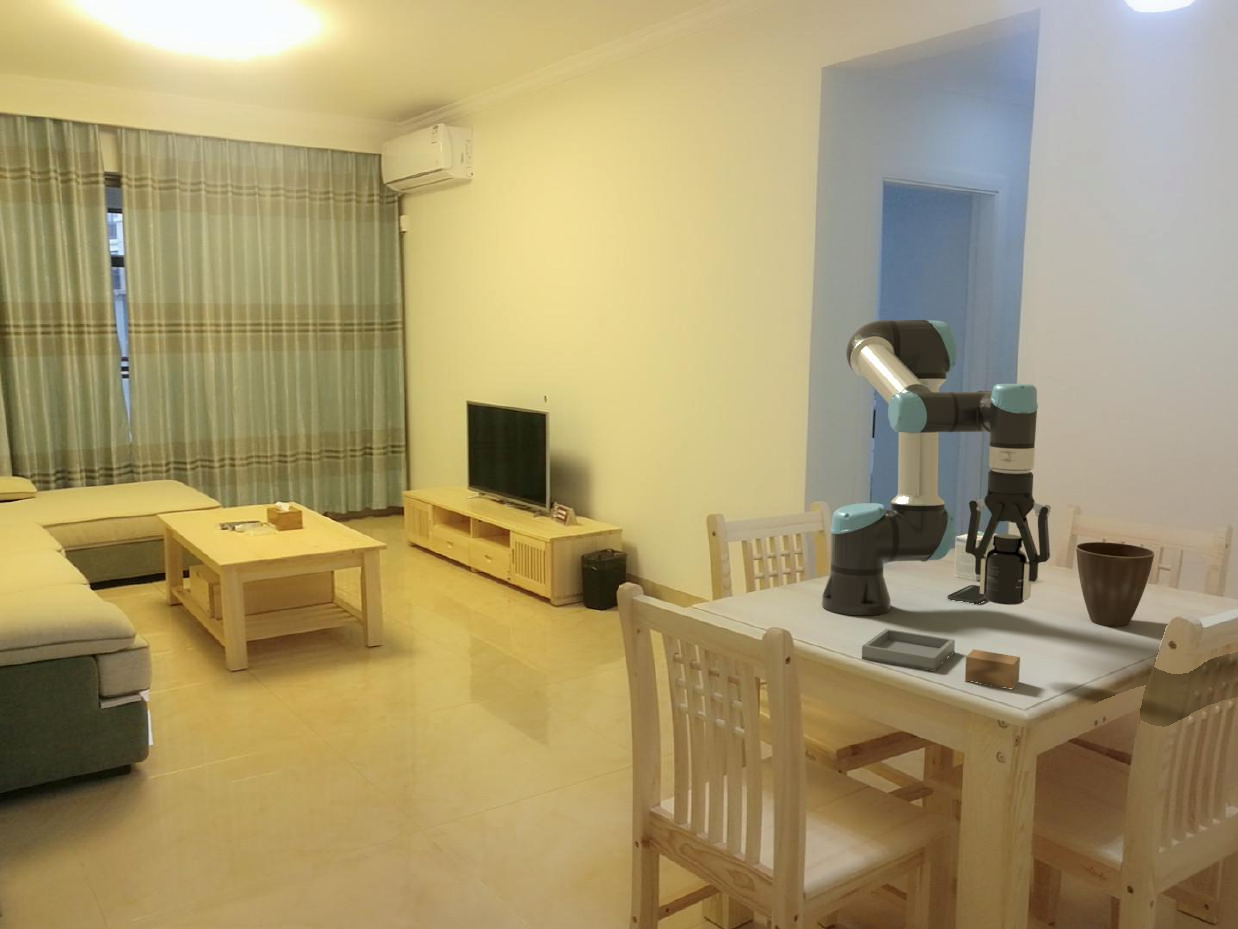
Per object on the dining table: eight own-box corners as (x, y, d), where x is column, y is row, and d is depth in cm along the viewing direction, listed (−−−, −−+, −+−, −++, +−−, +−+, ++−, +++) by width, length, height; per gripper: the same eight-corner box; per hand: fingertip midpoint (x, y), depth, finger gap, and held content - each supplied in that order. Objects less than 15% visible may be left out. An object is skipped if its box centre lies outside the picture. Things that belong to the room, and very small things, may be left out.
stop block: (965, 681, 176) (966, 656, 175) (972, 673, 180) (973, 649, 179) (1012, 689, 171) (1013, 664, 171) (1018, 681, 176) (1019, 657, 175)
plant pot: (1153, 619, 214) (1158, 547, 212) (1145, 636, 202) (1149, 559, 200) (1078, 609, 223) (1082, 539, 221) (1066, 625, 210) (1070, 551, 208)
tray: (861, 658, 189) (862, 645, 188) (885, 640, 200) (886, 628, 200) (933, 671, 181) (934, 658, 181) (954, 652, 192) (954, 639, 192)
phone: (945, 596, 232) (971, 584, 243) (945, 601, 232) (971, 589, 243) (979, 601, 226) (1003, 589, 238) (978, 606, 227) (1003, 594, 238)
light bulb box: (975, 570, 261) (977, 530, 259) (999, 575, 256) (1001, 534, 254) (952, 576, 254) (954, 535, 253) (976, 581, 249) (978, 539, 247)
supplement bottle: (1028, 606, 176) (1031, 540, 175) (987, 604, 178) (990, 539, 176) (1020, 596, 183) (1024, 533, 182) (981, 595, 184) (984, 531, 183)
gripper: (949, 468, 180) (944, 592, 183) (1066, 477, 169) (1059, 608, 172) (960, 464, 186) (955, 583, 189) (1074, 471, 175) (1067, 598, 178)
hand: (1004, 595), depth 180 cm, fingers closed on supplement bottle, 7 cm apart
